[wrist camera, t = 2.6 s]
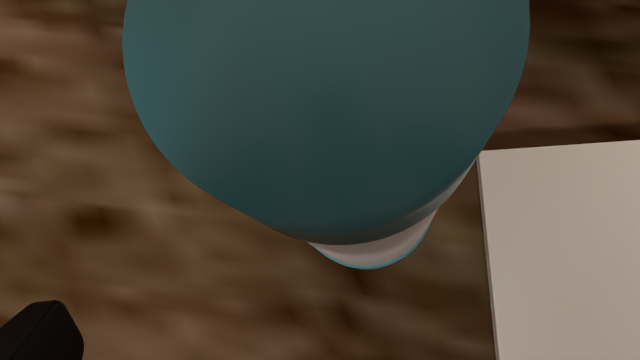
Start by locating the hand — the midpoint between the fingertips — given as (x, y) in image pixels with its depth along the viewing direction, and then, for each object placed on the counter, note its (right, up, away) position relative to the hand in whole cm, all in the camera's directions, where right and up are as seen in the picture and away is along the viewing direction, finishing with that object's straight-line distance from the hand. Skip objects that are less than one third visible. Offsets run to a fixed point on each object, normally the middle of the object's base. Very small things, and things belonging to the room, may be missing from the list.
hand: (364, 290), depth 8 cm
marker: (+1, +1, +10) cm, 10 cm away
